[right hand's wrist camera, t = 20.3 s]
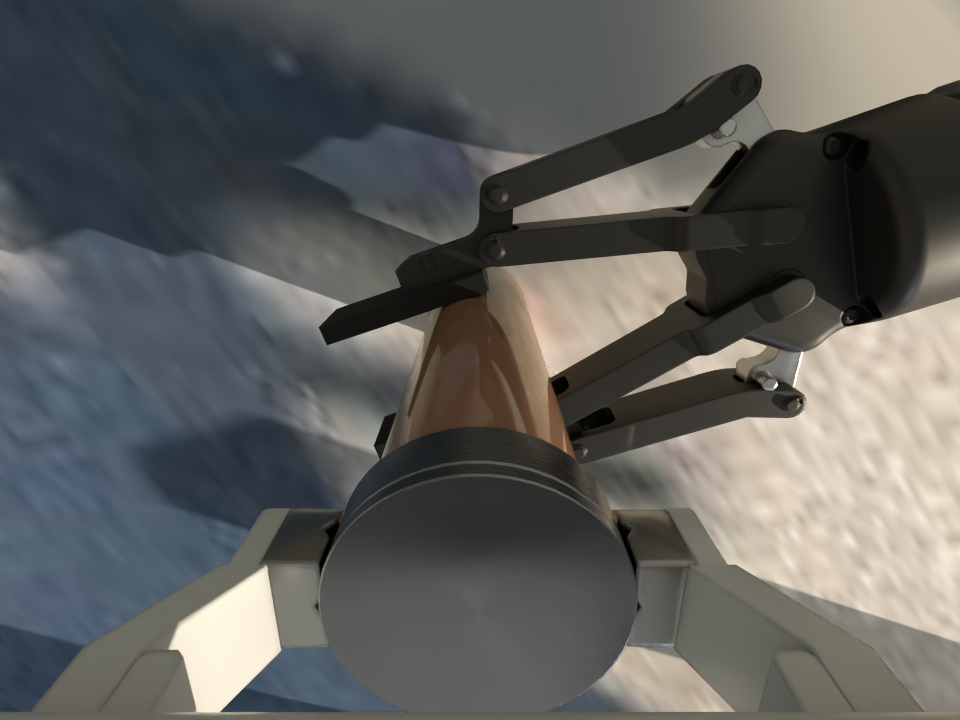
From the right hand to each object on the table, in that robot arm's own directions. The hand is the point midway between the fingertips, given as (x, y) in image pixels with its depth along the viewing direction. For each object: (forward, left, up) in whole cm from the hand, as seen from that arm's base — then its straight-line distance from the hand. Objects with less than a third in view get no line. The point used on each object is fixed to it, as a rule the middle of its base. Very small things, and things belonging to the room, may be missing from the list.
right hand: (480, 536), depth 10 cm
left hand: (-4, -3, -12) cm, 13 cm away
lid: (0, 0, +2) cm, 2 cm away
